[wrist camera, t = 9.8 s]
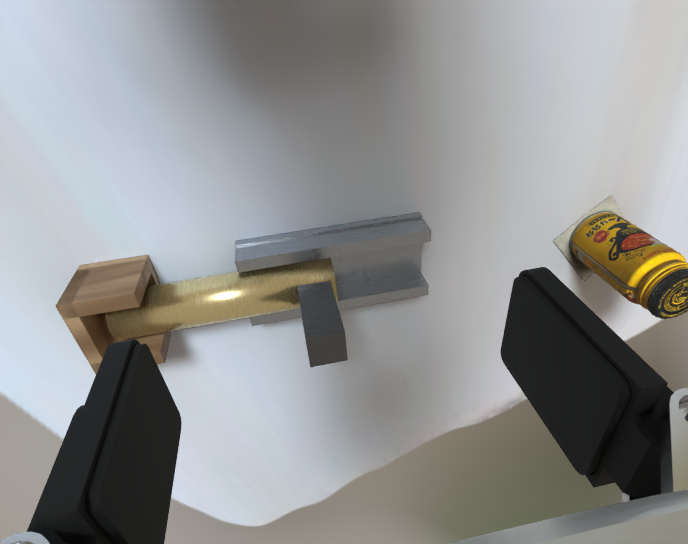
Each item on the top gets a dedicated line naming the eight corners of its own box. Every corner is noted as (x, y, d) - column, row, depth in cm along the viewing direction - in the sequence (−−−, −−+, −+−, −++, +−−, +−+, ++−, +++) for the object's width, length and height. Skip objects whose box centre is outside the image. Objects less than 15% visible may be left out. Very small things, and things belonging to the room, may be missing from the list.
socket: (79, 265, 39) (55, 306, 34) (147, 254, 39) (133, 293, 35) (113, 330, 43) (96, 375, 38) (174, 320, 44) (164, 362, 39)
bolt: (113, 282, 39) (71, 375, 30) (327, 247, 41) (350, 324, 32) (130, 318, 42) (96, 414, 33) (331, 284, 44) (354, 365, 35)
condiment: (610, 194, 45) (709, 252, 36) (636, 239, 50) (731, 302, 40) (552, 239, 47) (631, 306, 38) (582, 279, 52) (660, 348, 42)
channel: (235, 241, 40) (234, 259, 38) (419, 212, 42) (431, 228, 40) (252, 306, 45) (252, 327, 42) (417, 278, 47) (427, 296, 44)
